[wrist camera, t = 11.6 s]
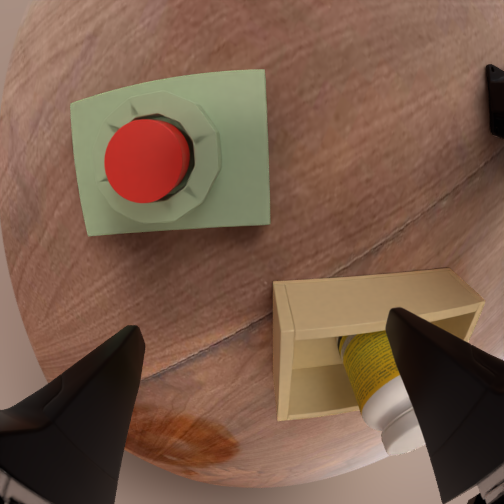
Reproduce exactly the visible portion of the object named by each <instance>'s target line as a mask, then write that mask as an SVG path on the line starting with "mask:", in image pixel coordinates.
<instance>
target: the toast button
mask: <svg viewBox="0 0 504 504" xmlns="http://www.w3.org/2000/svg"><path fill="white" fill-rule="evenodd" d="M189 162H190V151H189V146H188V143H187V141H186V139H185V137H184V135H183V134H182V133H181V132H180V130H178V129H177V128H176V127H175V126H173V125H172V124H170V123H168V122H165V121H160V120H151V119H140V120H135V121H132V122H129V123H127V124H125V125H124V126H122V127H121V128H120V129H119V130H118V131H117V132H116V133H115V134H114V135H113V136H112V138H111V140H110V141H109V143H108V146H107V148H106V152H105V158H104V167H105V173H106V176H107V179H108V181H109V183H110V185H111V186H112V188H113V189H114V190H115V191H116V192H117V193H118V194H119V195H120V196H121V197H123V198H125V199H126V200H129V201H131V202H135V203H150V202H154V201H157V200H159V199H161V198H163V197H164V196H166V195H167V194H168V193H169V192H170V191H172V190H173V189H174V188H175V187H176V186H178V185H179V184H180V182H181V181H182V180H183V178H184V177H185V175H186V173H187V170H188V167H189Z"/></svg>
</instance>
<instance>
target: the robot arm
mask: <svg viewBox="0 0 504 504" xmlns="http://www.w3.org/2000/svg"><path fill="white" fill-rule="evenodd" d="M486 70H487V78H488V88H489V101H490V130H491V133H492V135H494V136H497V137H499V138H502V139H504V71H502V70H501V69H499V68H497V67H495V66H494V65H492V64H488V65H487V66H486ZM385 330H386V334H387V337H388V341H389V344H390V347H391V350H392V354H393V357H394V360H395V363H396V366H397V369H398V371H399V374H400V376H401V379H402V381H403V384H404V386H405V389H406V391H407V394H408V396H409V399H410V401H411V404H412V407H413V409H414V412H415V415H416V418H417V420H418V423H419V426H420V429H421V432H422V435H423V438H424V441H425V444H426V447H427V450H428V453H429V456H430V460H431V463H432V467H433V470H434V474H435V477H436V481H437V485H438V488H439V492H440V496H441V500H442V503H443V504H445V503H447V502H449V501H451V500H453V499H454V498H456V497H458V496H460V495H461V494H463V493H465V492H467V491H468V490H470V489H472V488H473V487H475V486H476V485H477V486H478V488H479V491H480V493H479V494H478V495H476V496H475V497H473V498H472V499H470V500H468V503H467V504H504V361H503V360H501V359H499V358H497V357H494V356H492V355H490V354H488V353H486V352H484V351H482V350H481V349H479V348H477V347H475V346H473V345H471V344H469V343H468V342H466V341H464V340H462V339H460V338H458V337H457V336H455V335H453V334H451V333H449V332H447V331H445V330H444V329H442V328H440V327H438V326H436V325H434V324H432V323H430V322H429V321H427V320H425V319H423V318H421V317H419V316H417V315H415V314H413V313H412V312H410V311H408V310H406V309H404V308H402V307H396V308H391V309H390V311H389V314H388V318H387V322H386V327H385ZM144 354H145V342H144V339H143V336H142V334H141V331H140V328H139V327H138V326H136V325H128V326H126V327H124V328H123V329H122V330H120V331H119V332H118V333H116V334H115V335H113V336H112V337H111V338H109V339H108V340H107V341H105V342H104V343H103V344H101V345H100V346H98V347H97V348H96V349H94V350H93V351H92V352H90V353H89V354H88V355H86V356H85V357H84V358H82V359H81V360H79V361H78V362H77V363H75V364H74V365H73V366H71V367H70V368H69V369H67V370H66V371H65V372H63V373H62V375H59V376H58V377H57V378H55V379H54V380H53V381H51V382H50V383H48V384H47V385H46V386H44V387H43V388H41V389H40V390H38V391H37V392H35V393H33V394H32V395H30V396H29V397H27V398H25V399H24V400H22V401H21V402H19V403H17V404H16V405H14V406H12V407H10V408H8V409H4V410H0V504H114V502H115V496H116V490H117V484H118V478H119V471H120V467H121V461H122V457H123V452H124V447H125V443H126V438H127V434H128V429H129V425H130V421H131V416H132V412H133V408H134V404H135V400H136V396H137V393H138V389H139V385H140V379H141V373H142V366H143V360H144Z"/></svg>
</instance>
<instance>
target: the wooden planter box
mask: <svg viewBox="0 0 504 504" xmlns="http://www.w3.org/2000/svg"><path fill="white" fill-rule="evenodd" d="M484 304H485V300H484V299H483V298H482V297H481V296H480V295H479V294H478V293H477V292H476V291H475V290H473V289H472V288H471V287H470V286H469V285H468V284H467V283H466V282H465V281H464V280H462V279H461V278H460V277H459V276H458V275H457V274H456V273H455V272H453V271H452V270H451V269H450V268H442V269H432V270H422V271H412V272H401V273H389V274H377V275H365V276H352V277H338V278H323V279H307V280H290V281H273V381H274V391H275V402H276V412H277V421H286V420H287V419H288V420H297V419H306V418H314V417H322V416H329V415H335V414H341V413H347V412H352V411H358V410H360V409H359V406H358V403H357V400H356V398H355V395H354V392H353V389H352V386H351V384H350V381H349V378H348V375H347V373H346V370H345V367H344V364H343V362H342V359H341V356H340V354H339V351H338V347H337V343H336V337H339V336H347V335H355V334H363V333H370V332H376V331H383V330H385V327H386V322H387V318H388V314H389V311H390V309H391V308H396V307H402V308H404V309H406V310H408V311H410V312H412V313H413V314H415V315H417V316H419V317H421V318H423V319H425V320H427V321H429V322H430V323H432V324H434V325H436V326H438V327H440V328H442V329H444V330H445V331H447V332H449V333H451V334H453V335H455V336H457V337H458V338H460V339H462V340H464V341H466V342H468V341H469V339H470V337H471V335H472V333H473V330H474V328H475V326H476V324H477V321H478V319H479V317H480V314H481V312H482V309H483V307H484Z"/></svg>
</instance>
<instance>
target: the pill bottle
mask: <svg viewBox="0 0 504 504" xmlns="http://www.w3.org/2000/svg"><path fill="white" fill-rule="evenodd" d="M336 343H337V347H338V351H339V354H340V356H341V359H342V362H343V364H344V367H345V370H346V373H347V375H348V378H349V381H350V384H351V386H352V389H353V392H354V395H355V398H356V400H357V403H358V406H359V409H360V412H361V415H362V418H363V420H364V422H365V423H366V424H367V425H368V426H369V427H370V428H372V429H374V430H377V431H382V434H381V436H382V442H383V444H384V447H385V449H386V452H387V453H388V454H389V455H399V454H403V453H407V452H410V451H412V450H415V449H417V448H419V447H421V446H423V445H425V441H424V438H423V435H422V432H421V429H420V426H419V423H418V420H417V418H416V415H415V412H414V409H413V407H412V404H411V401H410V399H409V396H408V394H407V391H406V389H405V386H404V384H403V381H402V379H401V376H400V374H399V371H398V369H397V366H396V363H395V360H394V357H393V354H392V350H391V347H390V344H389V341H388V337H387V334H386V330H383V331H376V332H370V333H363V334H355V335H347V336H339V337H336Z"/></svg>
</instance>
